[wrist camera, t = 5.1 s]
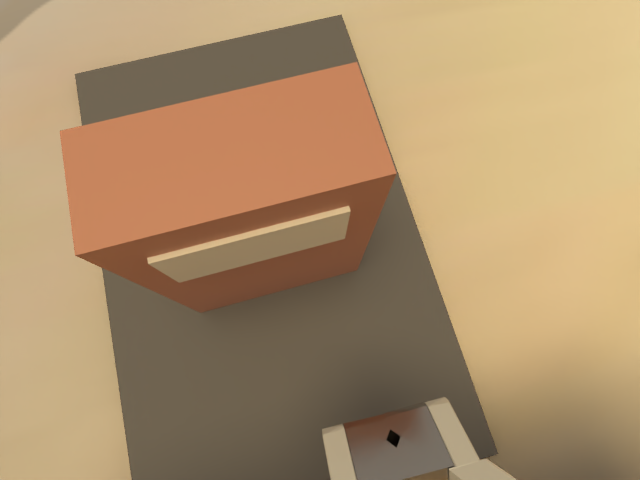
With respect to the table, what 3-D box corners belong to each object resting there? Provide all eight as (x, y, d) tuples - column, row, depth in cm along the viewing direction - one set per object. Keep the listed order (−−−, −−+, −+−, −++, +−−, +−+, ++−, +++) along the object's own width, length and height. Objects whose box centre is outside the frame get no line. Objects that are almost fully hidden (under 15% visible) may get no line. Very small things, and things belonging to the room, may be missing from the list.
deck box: (357, 273, 19) (398, 179, 9) (201, 316, 19) (76, 262, 9) (338, 208, 20) (357, 62, 10) (187, 247, 19) (59, 131, 10)
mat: (494, 451, 17) (498, 453, 17) (148, 560, 16) (143, 565, 16) (341, 20, 23) (341, 14, 23) (79, 79, 22) (74, 74, 22)
